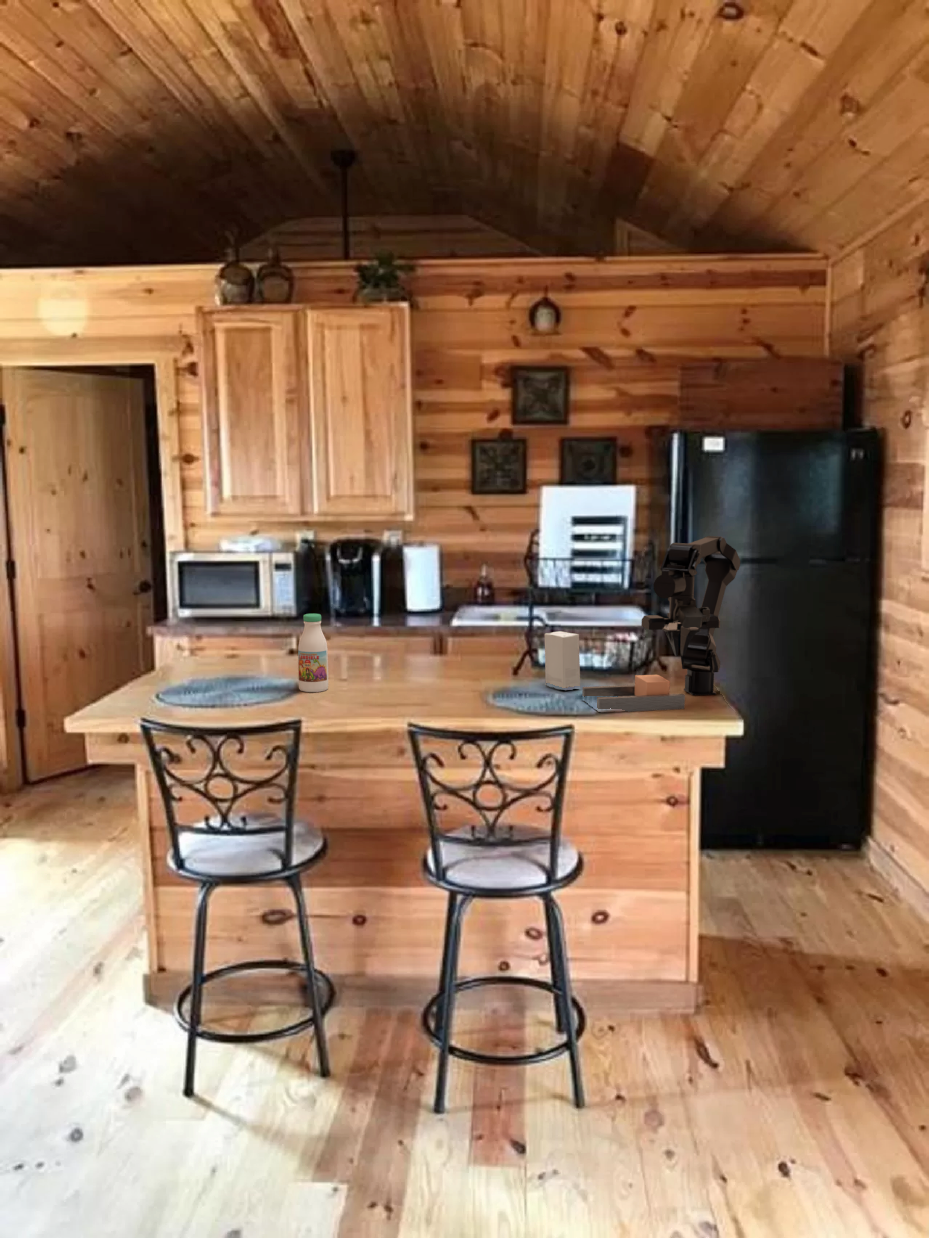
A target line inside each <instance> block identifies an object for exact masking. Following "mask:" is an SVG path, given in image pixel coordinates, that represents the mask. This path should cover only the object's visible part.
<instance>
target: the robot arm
mask: <svg viewBox="0 0 929 1238" xmlns="http://www.w3.org/2000/svg"><path fill="white" fill-rule="evenodd" d="M701 560H702V561H703V564H704V565H705V567H704V570H705V574H706V577H707V579H708V580H707V585H706V588H705V592H704V594H703V595H704V596H703V600H702V603H701V606H700V607H697V602H696V601H697V600H696V599H695V597H694V596H695V595H694V592H695V575H698V572H697V570H696V569H697V567H698V565H699V564H700V563H701V562H702V561H701ZM740 566H741V559H740V556H739V554H738V552H737V550H736V549H735V548H734V547H732V546H731V545H730V544H728V543H727V541H726V539H725V537H723V536H717V535H716V536H714V535H707V536H704V537H703V538H700V539H698V540H695V541H692V542H690V543H689V542H688V543H686V542H685V543H682V542H672V543H671V544H670V545H669V547H668V548H667V550H666V552H665V555H664V558H663V561H662V563H661V567H660V571H661V574H660V575H658V576H657V577H656V578H655V580H654V582H653V584H652V585H653V591H654V593H655V595H657V596H658V597H660V598H661V599H667V601H668V602H669V612H667V618H665V617H663V616H661V615H656V614H655V615H654V614H653V615H651V614H650V615H643V617H642V618H641V623H640V624H641V628H645V629H646V630H648V631H649V630H650V631H659V630H660V631H661V630H662V631H664V632H665V634H666V636H667V638H668V642H669V643H670V644H669V645H670V646H671V649H672V652H673V654H674V656H675V657H679V649H680V663H681V668H682V670H686V674H685V675H684V688H683V691H685V692H686V693H688V694H690V695H691V696H711V695H712V696H715V695H717V692H716V691H714V687H715V686H714V684H715V681H714V680H715V673H719V672H720V668H721V661H720V657H719V656H718V653H717V645H716V642H715V639H714V633H715V631H716V629H720V628H721V619H720V617H719V614H720V611H721V607H722V604H723V600H724V596H725V592H726V588H727V587H728V585H730V584H731V583H732V582H733V581H734V580H735V579H736V576H737V572H738V571H739V569H740ZM678 626H680V629H678ZM679 635H680V648H679Z"/></svg>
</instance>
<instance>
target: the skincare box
mask: <svg viewBox="0 0 929 1238" xmlns="http://www.w3.org/2000/svg"><path fill="white" fill-rule="evenodd" d="M580 657H581V655H580V634H579V633H572V632H566V631H553V632H546V633H544V665H545V667H544V669H545V672H544V673H545V684H546V683H550V684H553V685H555V686H559V687H562V688H568V687H574V686H580V687H581V668H580V661H581V660H580Z"/></svg>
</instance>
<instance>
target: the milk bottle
mask: <svg viewBox="0 0 929 1238" xmlns="http://www.w3.org/2000/svg"><path fill="white" fill-rule="evenodd" d="M302 619H303V624H304V627H303V631H302V634H301V635H300V639H299V642H298V650H297V651H298V653H297V654H298V655H297V656H298V657H297V658H298V659H297V660H298V661H297V663H298V664H297V665H298V668H297V669H298V689H299V690H300V691H301V692H305V693H319V692H324V691H327V690H328V688H329V654H328V652H329V649H328V643H327V639H326V637H325V635H324V633H323V629H322V626H321V623H322V615H321V614H320V613H306V614H303V618H302Z"/></svg>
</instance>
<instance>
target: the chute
mask: <svg viewBox="0 0 929 1238" xmlns="http://www.w3.org/2000/svg"><path fill="white" fill-rule="evenodd" d="M581 689H582V691H581V692H582V695H581V697H582V696H584V697H585V696H618V697H597V708H598V709H610V708H611V709H622V710H625V711H628V712H631V713H632V712H645V711H646V712H648V711H652V712H653V711H668V710H669V711H671V710H685V705H686V704H685V702H686V695H685V694H684V693H669V694H663V695H640V696H636V695H635V684H625V685H624V684H623V685H601V686H600V685H598V686H582V688H581ZM628 712H627V713H628Z"/></svg>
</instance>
